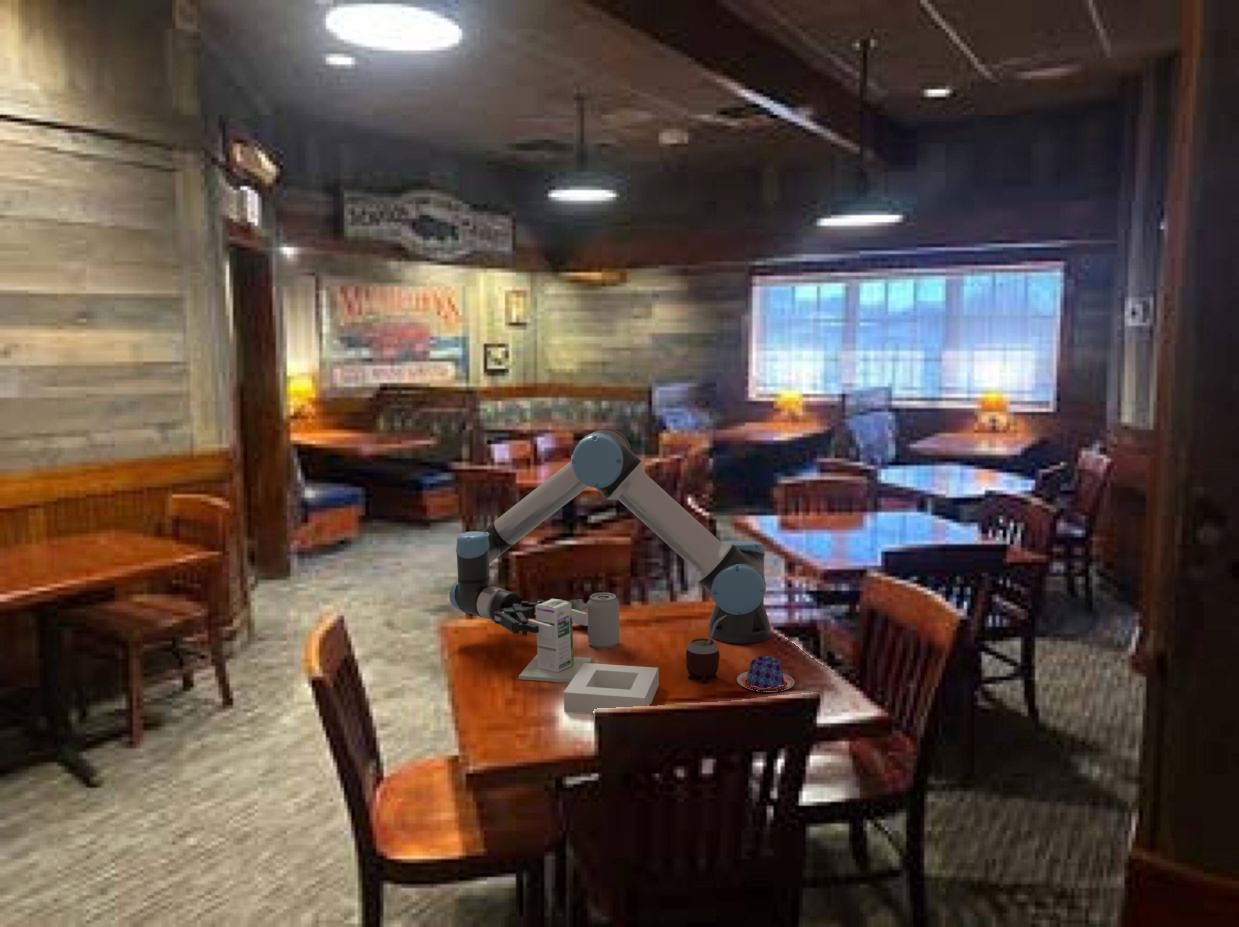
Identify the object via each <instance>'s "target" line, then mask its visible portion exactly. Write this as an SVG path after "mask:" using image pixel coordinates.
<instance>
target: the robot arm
mask: <svg viewBox="0 0 1239 927" xmlns="http://www.w3.org/2000/svg"><path fill="white" fill-rule="evenodd" d="M643 463H644V462H643V461H642V460H641V459H640V457H638V456H637V455H636V454H634V452H632V450H631V445H630V442H629V440H628V439H627V438H626V436H625V435H624V434H622V432H620V431H618V430H615V429H614V428H600V429H597V430H595V431H593V432H592V433H588V434H587V435H585V436H583V438H582V439H581V440H579V442H578V444H577V445H576V446H575V448H574V450H573V452H572V454H571V458H570V461H569V462H568V463H566V464H565V465H564V466H562V467H561V468H560V469H559V470H558V471H556V472H555V473H553V474H552V475H551V476H550V477H549V478H547V479H546V480H545V481H544V482H542V483H541V484H539V486H538V487H536V488H535V489H533V490H532V491H531V492H529V494H527V495H526V496H525V497H523V498H522V499H521V500H520V501H518V502H517V503H516V504H514V505H513V506H512V507H511V508H509V509H508V510H507V511H506V512H504V513H503V514H502V515H500V516H499V517H498V518H496V519H495V520H494V521H493V522H492V523H490V524H489V525H488V526H487V527H485V528H483V529H482V530H481V531H475V530H474V531H466V532H462V533H460V534H458V535H457V538H456V547H455V550H456V551H455V552H456V562H457V563H456V565H457V567H456V568H457V580H456V581H455V582H454V583H453V584H452V585H451V587H450V588H451V589H450V591H449V596H448V598H449V602H450V604H451V605H452V607H454V609H456V610H459V611H461V612H463V613H465V614H469V615H473V616H478V617H481V618H484V619H487V620H490V621H491V622H492V623H494V624H495V625H496V624H497V625H501V627H503V628H505V629H506V630H508V631H509V632H511V633H512V634H513V635H518V634H519V633H520V632H521V636H523V637H526V636H528V633H530V634H533V635H536V636H537V635H539V636H542V637H546V638H549V639H550V638H552V625H549V624H545V623H542V622H538V621H536V605H538V604H541V603H544V602H546V601H547V600H544V599H540V598H537V599H536V600H535V602H534V601H533V602H530V601H528V600H524V599H523V597H522V596H521V595H520V594H519V593H517V592H513V591H509V590H506V589H503V588H500V587H496V586H493V585H492V586H491V582H490V581H491V576H490V574H491V573H490V572H491V571H490V564H491V563H492V562H494V561H495V560H496V559H497V558H499V557H500V556H501V555H503V554H504V552H506V551H507V550H509V549H510V548H511V547H512V546H513V545H515V544H516V543H517V542H518V541H520V540H521V539H523V538H524V537H525V536H526V535H528V534H529V533H530V532H531V531H533V530H535V528H536V527H538V526H539V525H540V524H542V523H543V522H544V521H546V520H547V519H549V518H550V517H551V516H552V515H554V514H555V513H556V512H558V511H559V510H560V509H561V508H563V507H564V506H566V505H567V504H568V503H570V501H572V500H573V499H575V497H577V496H578V495H579V494H581V493H582V492H583V491H585V490H586V489H587V488H588V487H590V488H592V489H596V490H597V491H598V492H599V493H601V495H602V496H603V497H605V499H607V500H609V501H610V500H618V501H619V502H620V503H621V504H623V505H624V506H625V507H626V508H627V509H628V510H629V511H630V512H631V513H632V514H634V516H635V517H637V518H638V519H639V520H640V521H641V522H642V523H643V524H644V525H645V526H647V527H648V529H650V530H651V531H652V532H653V533H654V534H655V535H656V536H658V537H659V538H660V539H661V540H662V541H663V542H664V543H665V544H666V545H668V547H669V548H671V550H673V551H674V552H675V553H676V554H677V555H678V556H679V557H681V558H682V559H683V560H684V561H685V562H686V563H687V564H688V565H690V566H691V568H693V569H694V571H695V573H696V581H698V582H699V584H700V585H702V586H703V588H705V589H706V590H707V591H708V592H709V593H710V594H711V597H712V599H713V600H714V605H713V609H712V612H711V615H710V618H709V621H708V627H707V631H708V635H709V636H710V634H711V631H712V628H713V627H712V626H713V624H714V623H715V622H716V621H717V620H718V619H719V618H721V617H723V616H725V615H727V616H726V617H725V618H723V619H722V620H721V621H719V622H718V624H717V626H716V628H715V630H714V633H713V636H712V638H711V639H714V640H716V641H719V642H723V643H729V644H737V645H738V644H739V645H740V644H741V645H743V644H745V645H746V644H757V643H761V642H763V641H766V640H768V639H770V637H771V636H772V635H771V634H772V633H771V632H772V631H771V622H770V619H769V616H768V613H767V610H766V607H765V603H764V602H765V601H764V597H765V595H766V591H767V582H766V577H765V575H766V574H765V557H766V553H765V546H764V544H763V543H761V542H759V541H751V540H724V541H721V540H720V539H718V538H717V537H716V536H714V534H713V533H712V532H710V531H709V530H708V529H707V528H706V527H705V526H704V525H703V524H702V523H700V521H698V520H697V519H696V518H695V517H694V516H693V515H692V514H691V513H690V512H688V510H686V509H685V508H684V507H683V506H681V504H680V503H678V502H677V500H675V499H674V498H673V497H672V496H671V495H669V494H668V493H667V492H666V490H664V489H663V488H662V487H661V486H660V485H659V484H657V482H655V481H654V480H653V479H652V478H651V477H650V476H649V475H648V474H647V473H646V472H644V465H643ZM523 600H524V601H523ZM571 605H572V622H573V624H574V623H575V624H577V625H581V626H583V627H586V626H587V627H588V612H586V611H585V612H581V611H578V610H574V609H573V604H571Z"/></svg>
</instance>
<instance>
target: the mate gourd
mask: <svg viewBox="0 0 1239 927" xmlns="http://www.w3.org/2000/svg"><path fill="white" fill-rule="evenodd" d="M726 616H727V615H725V616H723V617H721V618H719V619H718V620H717V621H716V622H715V623H714V624H713V626H712V627H713V628H712V631H711V634H710V635H709V636H708V638H705V637H704V638H703V637H701V638H699V637H698V638H694V639H692V640H691V641H690V642H689V643H688V645H687V647H686V651H685V662H686V669H687V672H688V676H687V678H688V680H701V682H702V683H703V684H704V685H705V684H708V681H707V679H709V678H712V679H717V678H718V675H717V673H718V670H719V664H720V657H721V656H720V651H719V647H718V645H717V643H716V642H715V640H713V638H712V636H713V633H714V630H715V628H716V626H717V624H718V622H719V621H721V620H722V619H723V618H725V617H726Z"/></svg>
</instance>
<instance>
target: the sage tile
mask: <svg viewBox="0 0 1239 927" xmlns="http://www.w3.org/2000/svg"><path fill="white" fill-rule="evenodd" d="M573 658H574V664H573V665H572V666H570V667H568V668H566V669H564V670H562V671H560V672H559V673H557V672H552V671H548V670H544V669H541V668H539V667H538V654H536V655H535V656H534V657H533V658H532V660H531V661H529V663H528V664H527V666H526V667H525V668H524V669H523V670H522V671H521V672H520V673H519V675H518V680H524V681H525V680H526V681H539V682H555V683H566V684H568V683H569V684H570V682H571V681H572V679H573V678H574V677H575V675H576V674H577V672H578V671H579V669H580V668H581V666H582V665H583V663H593V657H583V656H581V657H580V656H573Z"/></svg>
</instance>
